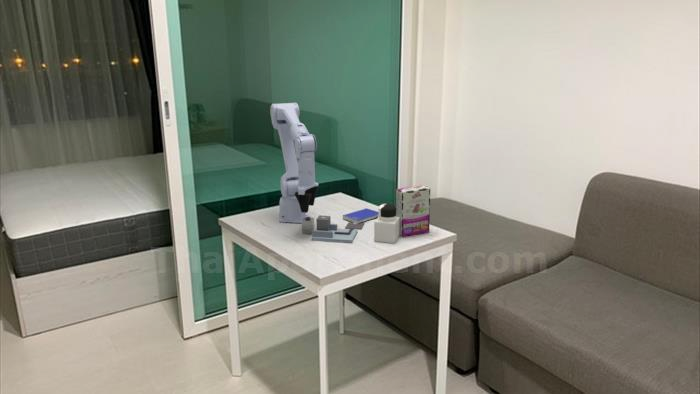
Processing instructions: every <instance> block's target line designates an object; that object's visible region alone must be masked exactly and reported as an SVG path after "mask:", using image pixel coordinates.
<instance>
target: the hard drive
mask: <svg viewBox="0 0 700 394" xmlns="http://www.w3.org/2000/svg"><path fill="white" fill-rule="evenodd" d="M377 218H378V210H373V209H370V208H363V209H360V210H355V211H352V212H350V213H346V214H343V215H342V219H343V220H345V221H349V222H352V223H365V222H366V221H369V220H373V219H377Z"/></svg>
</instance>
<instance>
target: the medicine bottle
mask: <svg viewBox="0 0 700 394" xmlns="http://www.w3.org/2000/svg"><path fill="white" fill-rule="evenodd" d="M377 208H378V210H377V212H378V217H376V218H375V219H376V220H374V223H373V226H374V227H373V228H374V230H373V231H374V233H373V234H374V235H373V236H374V239H373V240H374V242H378V243H379V242H380V243H387V244H395V243H396V242H397V240H398V238H400V235H399V233H400V217H396V204H395V205H394V204H392V203H382V204H380V205H379V206H378V207H377Z"/></svg>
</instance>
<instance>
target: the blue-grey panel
mask: <svg viewBox="0 0 700 394" xmlns="http://www.w3.org/2000/svg"><path fill="white" fill-rule="evenodd" d="M357 234H358V229H354V228H350V229H345V228H338V224H337V223H331V231H320V230H317V229H315V230H312V235H311V238H310V239H311V241H313V242H315V241H318V242H331V243H346V244H347V243H348V244H353V242H354V240H355V238H356V236H357Z"/></svg>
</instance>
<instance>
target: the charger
mask: <svg viewBox="0 0 700 394" xmlns="http://www.w3.org/2000/svg"><path fill="white" fill-rule="evenodd" d="M315 221H316V230H320V231H331V224H332V223H331V221H332V220H331V215H318V216H317V217H316V219H315Z"/></svg>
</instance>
